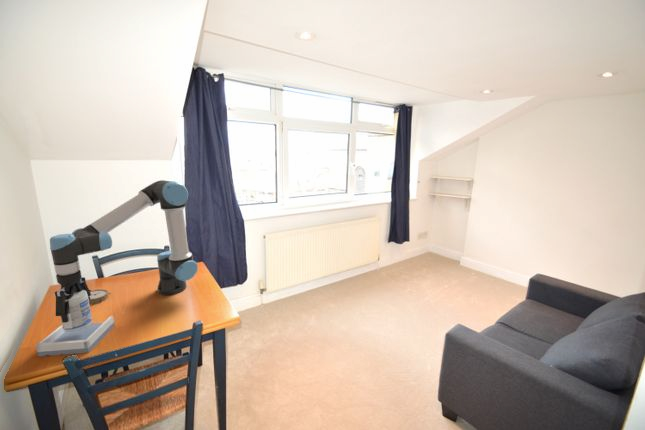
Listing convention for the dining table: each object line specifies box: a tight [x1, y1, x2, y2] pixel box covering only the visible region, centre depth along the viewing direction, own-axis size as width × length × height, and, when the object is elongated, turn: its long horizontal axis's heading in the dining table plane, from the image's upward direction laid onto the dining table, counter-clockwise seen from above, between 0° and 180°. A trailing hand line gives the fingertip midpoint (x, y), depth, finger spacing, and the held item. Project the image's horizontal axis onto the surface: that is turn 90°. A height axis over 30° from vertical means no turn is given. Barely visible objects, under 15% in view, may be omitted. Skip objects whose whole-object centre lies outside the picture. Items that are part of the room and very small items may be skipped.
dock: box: [35, 315, 115, 357], centre depth 119 cm, size 18×18×5 cm
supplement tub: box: [60, 290, 93, 332], centre depth 118 cm, size 10×10×15 cm
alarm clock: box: [89, 288, 111, 306], centre depth 152 cm, size 11×5×15 cm
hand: (77, 320), depth 119 cm, fingers closed on supplement tub, 10 cm apart
